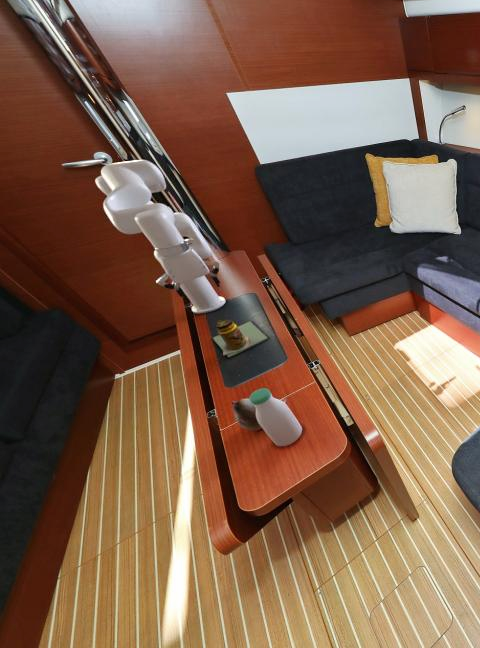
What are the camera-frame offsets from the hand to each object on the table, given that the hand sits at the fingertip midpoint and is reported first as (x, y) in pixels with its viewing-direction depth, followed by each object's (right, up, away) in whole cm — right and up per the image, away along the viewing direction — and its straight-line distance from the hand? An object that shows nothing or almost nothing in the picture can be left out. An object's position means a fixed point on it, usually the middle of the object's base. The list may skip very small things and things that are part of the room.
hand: (202, 291), depth 117 cm
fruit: (+32, -43, -13) cm, 55 cm away
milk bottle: (+43, -46, -17) cm, 65 cm away
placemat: (-1, -19, +18) cm, 26 cm away
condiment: (+1, -22, +13) cm, 26 cm away
